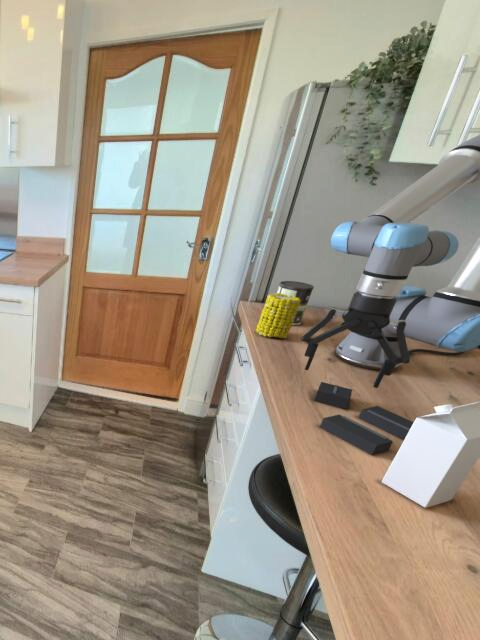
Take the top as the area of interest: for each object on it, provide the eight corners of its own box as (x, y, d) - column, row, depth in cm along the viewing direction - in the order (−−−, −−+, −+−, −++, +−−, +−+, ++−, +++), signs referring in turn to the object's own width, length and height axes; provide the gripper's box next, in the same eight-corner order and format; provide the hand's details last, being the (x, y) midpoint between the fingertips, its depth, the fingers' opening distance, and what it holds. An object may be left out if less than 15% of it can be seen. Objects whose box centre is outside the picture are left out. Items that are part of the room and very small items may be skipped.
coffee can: (300, 319, 164) (313, 283, 158) (301, 327, 156) (315, 289, 150) (268, 314, 169) (279, 279, 163) (268, 322, 161) (279, 285, 155)
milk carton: (451, 500, 78) (509, 412, 70) (424, 508, 76) (480, 419, 68) (406, 475, 84) (454, 391, 76) (380, 482, 82) (426, 397, 74)
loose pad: (317, 391, 114) (321, 381, 113) (347, 399, 110) (352, 389, 109) (313, 400, 110) (317, 390, 109) (345, 409, 106) (350, 398, 105)
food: (249, 338, 151) (265, 333, 156) (287, 341, 141) (302, 337, 146) (253, 294, 148) (268, 291, 153) (292, 295, 138) (307, 292, 143)
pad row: (372, 414, 104) (377, 404, 103) (428, 440, 94) (433, 430, 93) (319, 426, 99) (323, 417, 98) (371, 455, 90) (377, 444, 89)
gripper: (307, 287, 103) (278, 366, 112) (455, 310, 88) (407, 399, 97) (311, 281, 108) (283, 357, 117) (452, 302, 93) (407, 388, 102)
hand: (339, 376), depth 107 cm, fingers open, 13 cm apart
